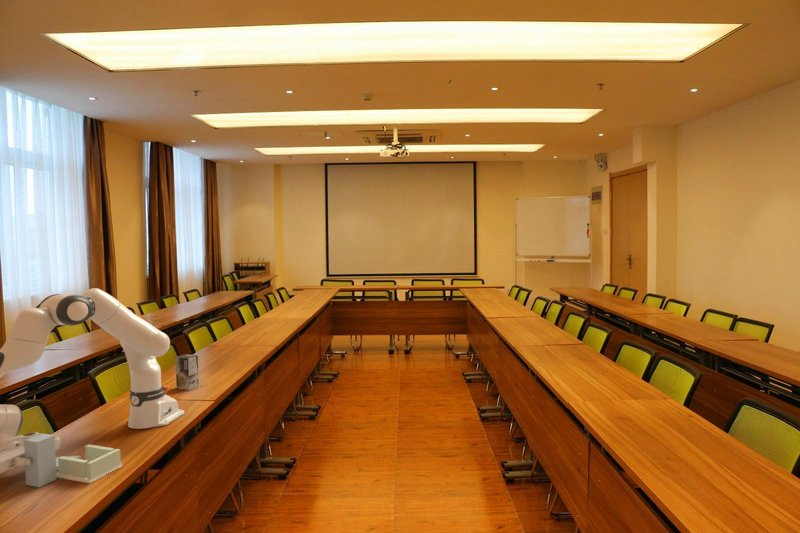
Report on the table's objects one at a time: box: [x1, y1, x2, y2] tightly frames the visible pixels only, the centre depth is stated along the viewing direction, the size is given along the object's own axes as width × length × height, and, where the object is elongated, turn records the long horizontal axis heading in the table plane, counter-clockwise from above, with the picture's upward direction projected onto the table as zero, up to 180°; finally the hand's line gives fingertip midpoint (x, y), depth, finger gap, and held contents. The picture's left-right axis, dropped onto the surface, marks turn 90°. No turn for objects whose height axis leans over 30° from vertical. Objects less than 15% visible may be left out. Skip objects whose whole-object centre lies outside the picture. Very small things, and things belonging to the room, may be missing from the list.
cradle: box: [56, 444, 123, 484], centre depth 163 cm, size 12×14×6 cm
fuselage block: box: [24, 433, 58, 488], centre depth 156 cm, size 6×6×14 cm
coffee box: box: [174, 354, 200, 391], centre depth 254 cm, size 9×6×16 cm
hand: (42, 456), depth 156 cm, fingers closed on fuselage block, 5 cm apart
